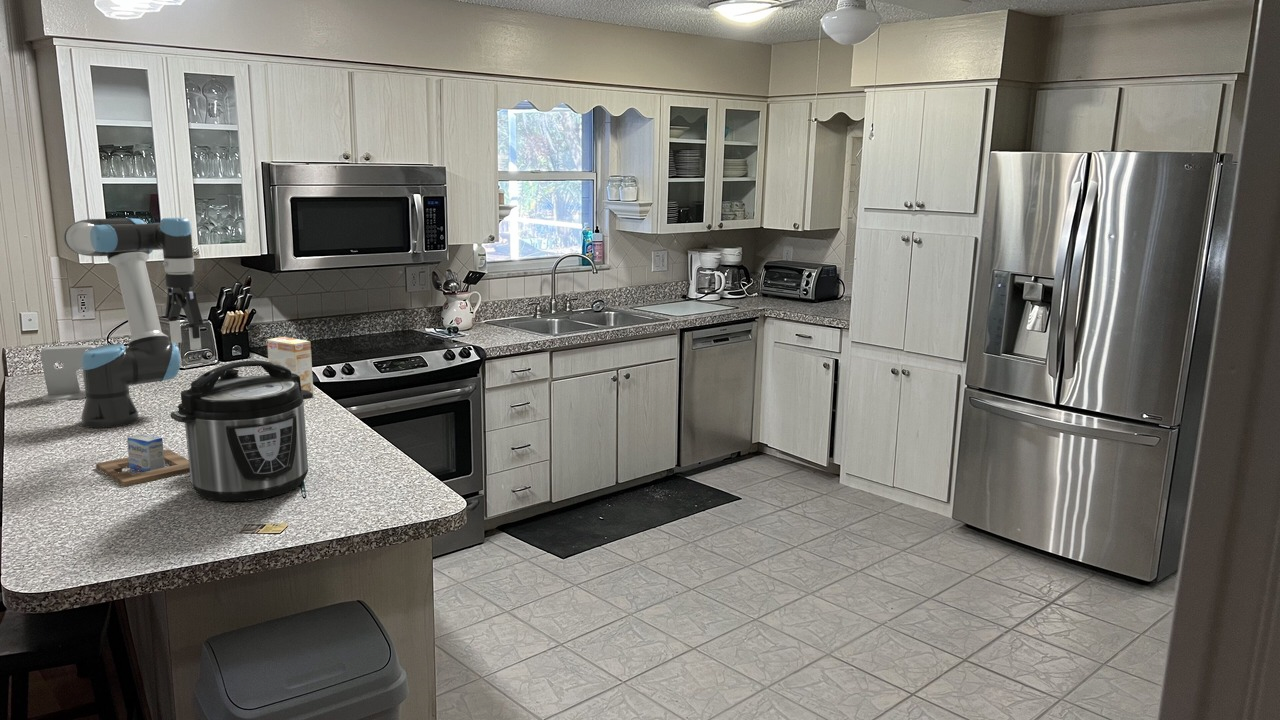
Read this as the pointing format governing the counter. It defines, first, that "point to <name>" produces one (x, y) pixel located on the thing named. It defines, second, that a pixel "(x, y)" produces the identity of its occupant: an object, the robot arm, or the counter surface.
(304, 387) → the coffeecake box
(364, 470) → the counter surface
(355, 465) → the counter surface
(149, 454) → the medicine box
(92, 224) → the robot arm
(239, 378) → the pressure cooker
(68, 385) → the phone holder
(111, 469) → the walnut pocket plate
